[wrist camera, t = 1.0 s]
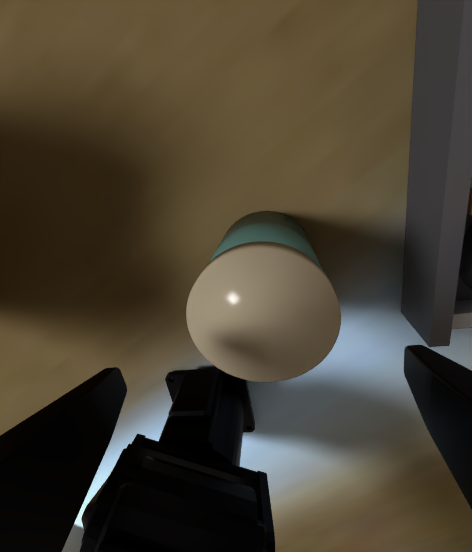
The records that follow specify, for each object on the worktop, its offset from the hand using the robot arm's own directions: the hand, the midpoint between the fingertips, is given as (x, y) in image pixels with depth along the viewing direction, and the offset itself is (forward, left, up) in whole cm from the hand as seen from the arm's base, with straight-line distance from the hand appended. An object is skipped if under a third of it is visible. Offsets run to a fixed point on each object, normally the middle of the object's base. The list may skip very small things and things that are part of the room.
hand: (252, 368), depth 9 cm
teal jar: (0, 0, -11) cm, 11 cm away
